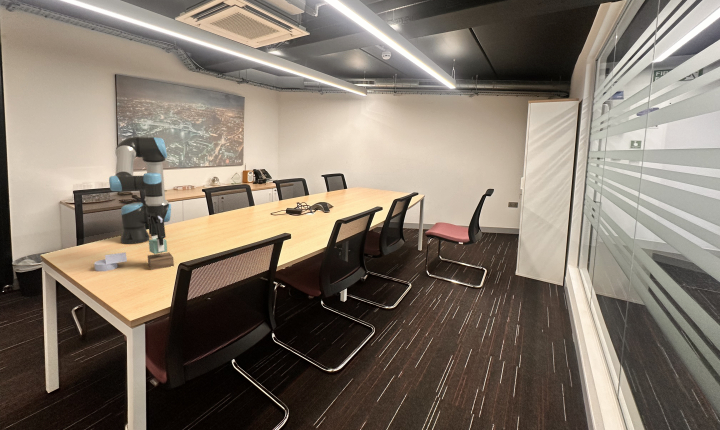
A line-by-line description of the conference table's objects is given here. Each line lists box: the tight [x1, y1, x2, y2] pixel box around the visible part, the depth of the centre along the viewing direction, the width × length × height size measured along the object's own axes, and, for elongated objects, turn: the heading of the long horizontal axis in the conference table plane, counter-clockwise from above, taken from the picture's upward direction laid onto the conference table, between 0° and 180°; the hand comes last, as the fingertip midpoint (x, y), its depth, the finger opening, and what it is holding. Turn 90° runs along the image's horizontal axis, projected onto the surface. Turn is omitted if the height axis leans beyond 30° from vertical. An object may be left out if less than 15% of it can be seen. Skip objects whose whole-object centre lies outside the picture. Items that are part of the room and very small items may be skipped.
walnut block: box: [147, 251, 175, 271], centre depth 180 cm, size 10×10×5 cm
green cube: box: [148, 238, 168, 255], centre depth 178 cm, size 6×6×6 cm
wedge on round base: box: [93, 252, 128, 272], centre depth 175 cm, size 9×7×13 cm
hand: (158, 249), depth 179 cm, fingers closed on green cube, 6 cm apart
